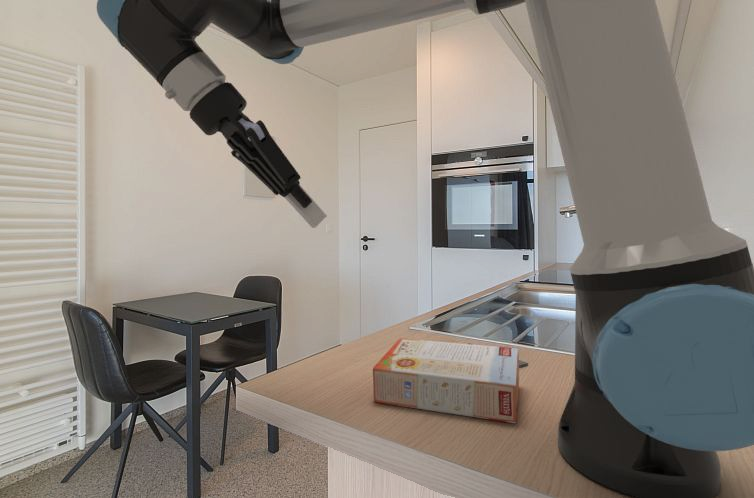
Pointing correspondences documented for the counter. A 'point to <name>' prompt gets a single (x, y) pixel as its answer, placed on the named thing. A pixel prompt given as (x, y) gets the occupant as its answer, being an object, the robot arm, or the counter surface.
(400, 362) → the cracker box
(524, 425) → the counter surface
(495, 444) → the counter surface
